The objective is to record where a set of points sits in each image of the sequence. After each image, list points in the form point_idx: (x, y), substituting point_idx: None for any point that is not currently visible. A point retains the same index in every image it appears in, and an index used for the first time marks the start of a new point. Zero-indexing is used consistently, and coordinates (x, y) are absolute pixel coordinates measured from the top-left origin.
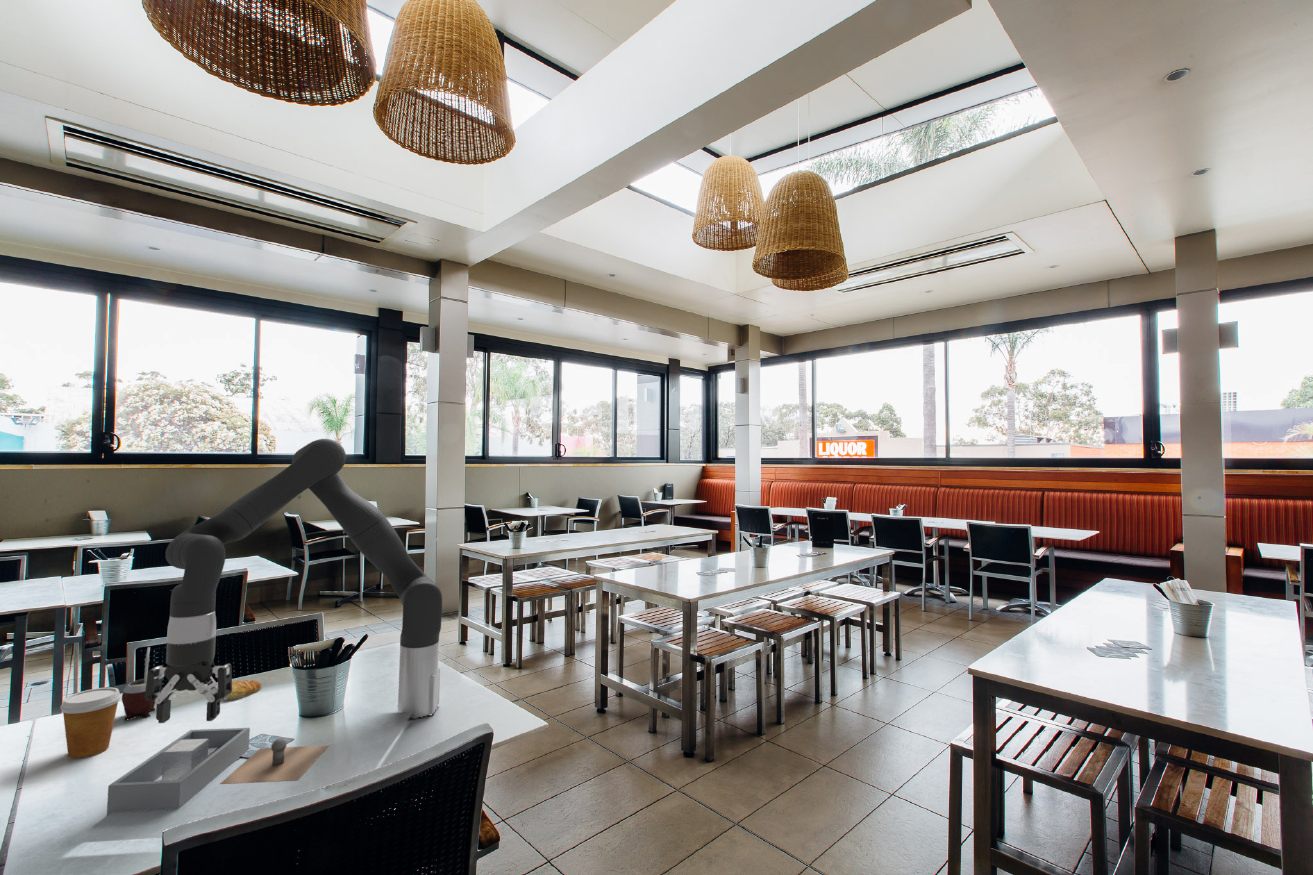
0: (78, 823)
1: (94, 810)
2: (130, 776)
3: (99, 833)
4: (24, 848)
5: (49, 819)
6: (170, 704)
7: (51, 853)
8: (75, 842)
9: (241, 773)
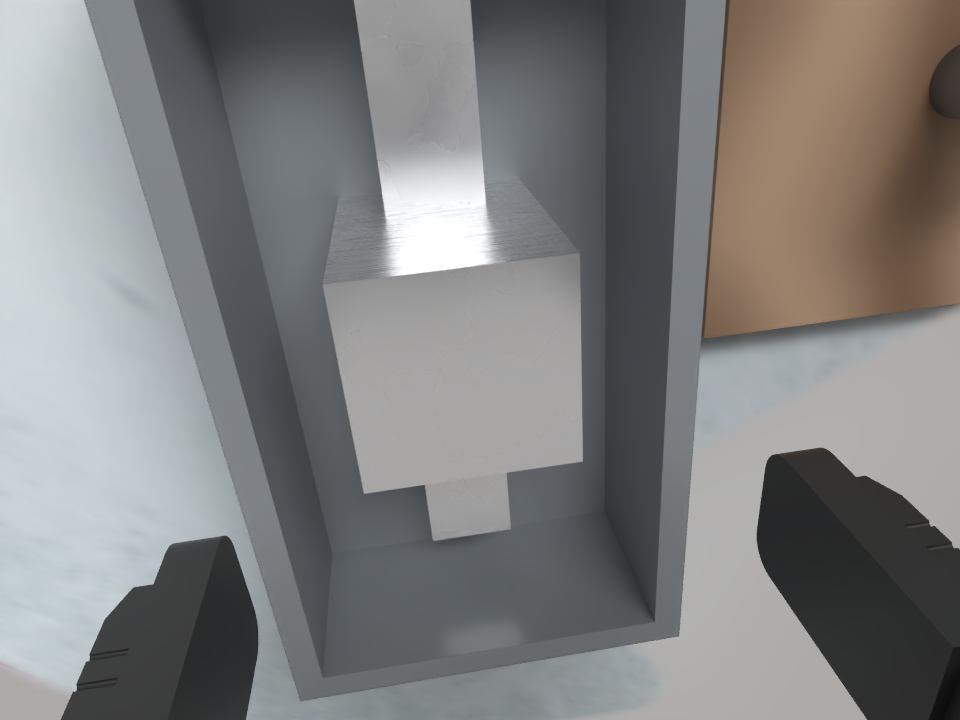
0: None
1: (161, 500)
2: (302, 587)
3: None
4: None
5: (19, 571)
6: (172, 703)
7: (310, 711)
8: None
9: (773, 221)
